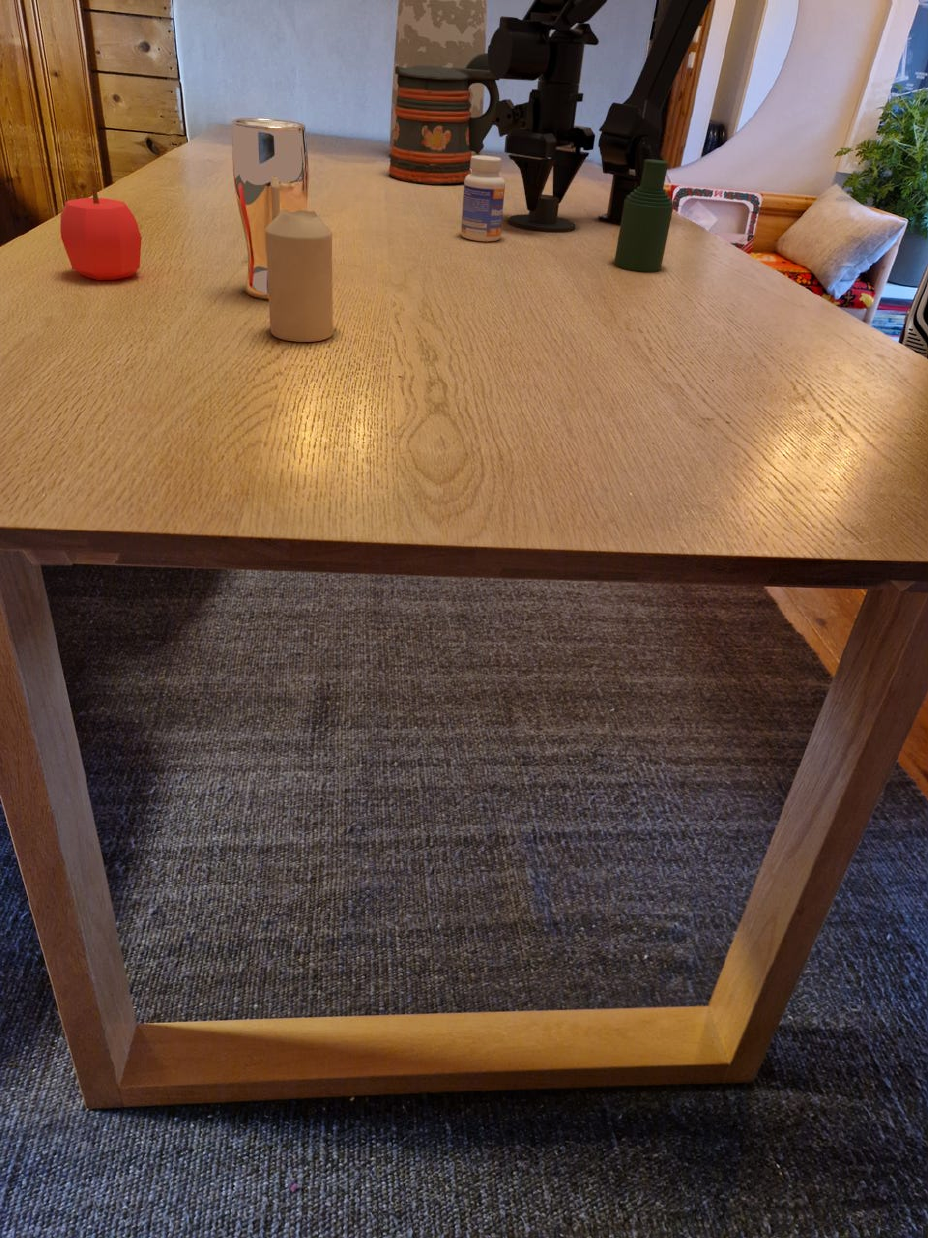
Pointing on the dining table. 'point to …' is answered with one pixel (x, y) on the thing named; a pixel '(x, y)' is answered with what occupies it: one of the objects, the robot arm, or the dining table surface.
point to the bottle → (645, 221)
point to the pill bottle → (483, 200)
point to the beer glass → (267, 184)
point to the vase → (440, 41)
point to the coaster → (524, 222)
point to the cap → (545, 210)
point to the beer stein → (439, 121)
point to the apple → (101, 237)
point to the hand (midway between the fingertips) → (544, 206)
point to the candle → (299, 276)
